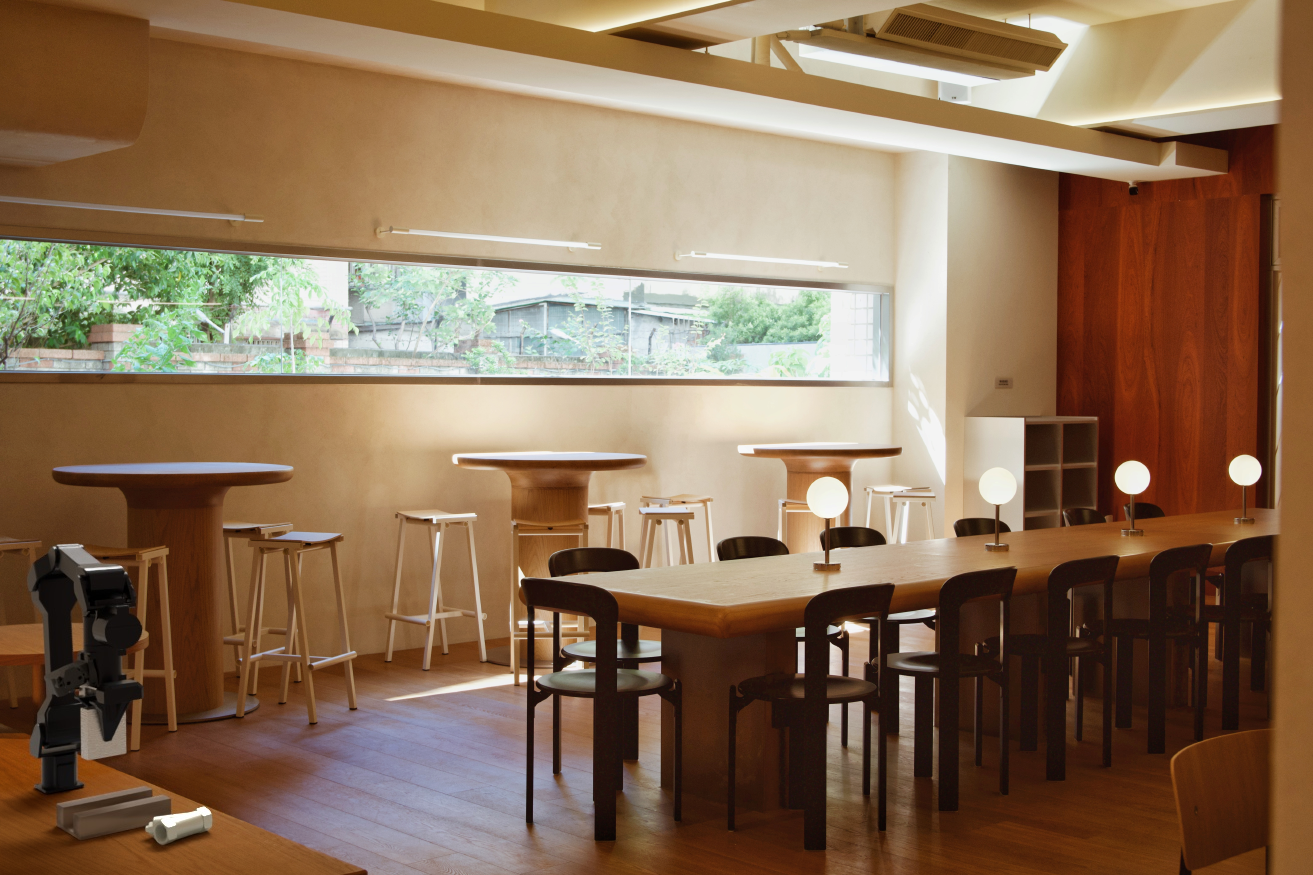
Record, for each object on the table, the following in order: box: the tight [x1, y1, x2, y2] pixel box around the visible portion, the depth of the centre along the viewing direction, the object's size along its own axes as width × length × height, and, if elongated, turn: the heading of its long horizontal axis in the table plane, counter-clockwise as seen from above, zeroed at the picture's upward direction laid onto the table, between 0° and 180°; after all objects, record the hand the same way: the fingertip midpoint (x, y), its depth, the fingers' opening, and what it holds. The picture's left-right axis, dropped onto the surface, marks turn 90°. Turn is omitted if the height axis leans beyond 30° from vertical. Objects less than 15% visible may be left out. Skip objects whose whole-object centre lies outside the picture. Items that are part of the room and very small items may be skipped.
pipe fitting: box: [145, 806, 213, 846], centre depth 187 cm, size 8×4×7 cm
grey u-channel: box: [56, 785, 172, 841], centre depth 194 cm, size 10×14×4 cm
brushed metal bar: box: [80, 706, 127, 761], centre depth 197 cm, size 3×6×8 cm, turn 135°
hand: (103, 739), depth 197 cm, fingers closed on brushed metal bar, 3 cm apart
